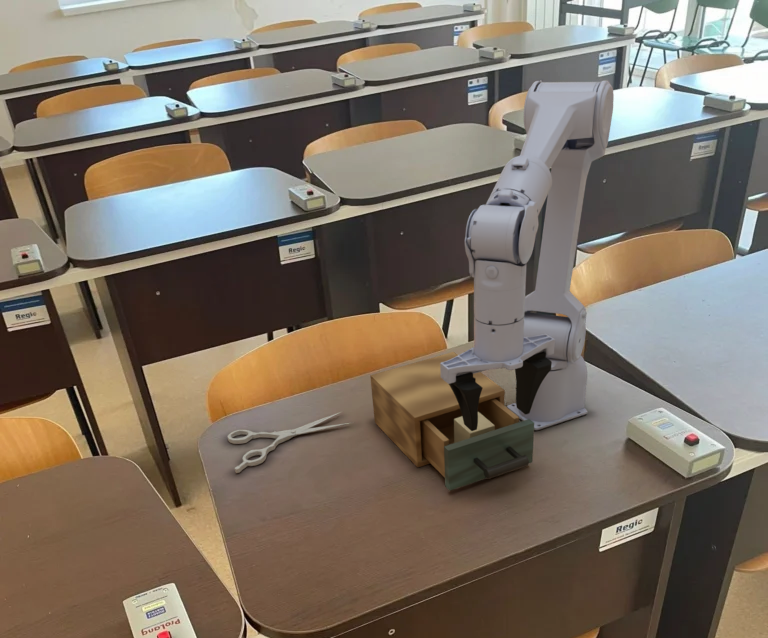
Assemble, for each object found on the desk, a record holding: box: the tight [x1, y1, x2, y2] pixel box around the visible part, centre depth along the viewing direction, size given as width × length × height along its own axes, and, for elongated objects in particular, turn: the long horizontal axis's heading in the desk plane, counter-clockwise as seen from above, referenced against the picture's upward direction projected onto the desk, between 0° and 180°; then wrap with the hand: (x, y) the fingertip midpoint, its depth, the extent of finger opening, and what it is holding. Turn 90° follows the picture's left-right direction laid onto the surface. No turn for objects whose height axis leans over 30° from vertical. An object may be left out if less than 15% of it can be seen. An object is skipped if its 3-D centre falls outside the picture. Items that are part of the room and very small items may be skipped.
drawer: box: [420, 398, 535, 491], centre depth 103 cm, size 18×13×6 cm
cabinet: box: [369, 351, 506, 468], centre depth 111 cm, size 15×14×8 cm
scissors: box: [227, 411, 355, 474], centre depth 115 cm, size 11×1×20 cm
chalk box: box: [454, 412, 495, 443], centre depth 103 cm, size 4×4×5 cm
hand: (497, 418), depth 95 cm, fingers open, 7 cm apart
